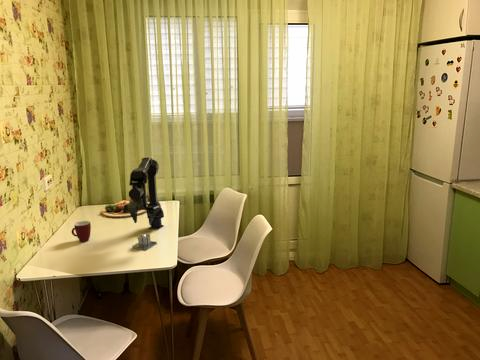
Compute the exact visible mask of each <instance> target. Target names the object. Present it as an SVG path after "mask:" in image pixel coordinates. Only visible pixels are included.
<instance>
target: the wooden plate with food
mask: <svg viewBox="0 0 480 360" xmlns="http://www.w3.org/2000/svg"><path fill="white" fill-rule="evenodd" d="M130 202H133V200H132V199H131V198H129V200H125V199H124V200H123V199H122V200H121V201H119V202H117V203H114V204H113V203H110V204H107V205H105V206H104V208H103V209H102V210H101V212H100V213H101V216H103V217H105V218H108V219H109V218H110V219H129V218H132V216H131V214H130V213H128V212H126V210H124V205H125V204H128V203H130ZM144 214H147V210H138V212H137V217H138V216H141V215H144Z"/></svg>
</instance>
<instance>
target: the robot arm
mask: <svg viewBox="0 0 480 360" xmlns="http://www.w3.org/2000/svg"><path fill="white" fill-rule="evenodd" d="M159 169H160V165H159V162H158V161H157V160H155V159H153V158H152V157H143V158H141V160H140V163H139V165H138V167H137V168H134V169H132V170H131V173H130V175H129V186H131V189H130V190H129V192H128V197H129V199H132V200H133V202H130V201H129V202H130V203H128V204H125V205H124V210H126V212H128V213H130V214H131V216H132V217H131V218H132V220H133V222H134V224H136V223H137V222H138V216H137V212H138V210H147V212H146V215H147V219H148V224H149V226H148V228H149V229H153V230H159V229H162V228H163V227H164V226H165V225H164V224H162V223H163V222H162V219H163V218H165V213H164V210H163V208H162V204H161V203H160V201H159V200H158V190H157V189H158V188H157V179H156V178H157V175H158V172H159ZM147 187H148V195H147ZM148 199H149V202H148Z"/></svg>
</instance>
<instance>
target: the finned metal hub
mask: <svg viewBox="0 0 480 360" xmlns="http://www.w3.org/2000/svg"><path fill="white" fill-rule="evenodd" d="M142 234H143V235H142V237H146V234H147V233H142ZM150 241H151V244H150V245H147V246H139V244H138V242H136V243H134V244H132V246H131V248H132V249H137V250H138V249H139V250H144V251H148V250H149V249H151V248H154V246H156V245H158V242H157V241H153V240H150Z"/></svg>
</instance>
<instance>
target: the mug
mask: <svg viewBox="0 0 480 360" xmlns="http://www.w3.org/2000/svg"><path fill="white" fill-rule="evenodd" d="M91 230H92V226H91V221H88V220H82V221H81V220H80V221H78V222H75V223H74V227H73V228H72V229H71V234H72V236H74V237H76V238H77V239H78V240H79V242H80V243H85V242H88V241H89V239H90V237H91Z"/></svg>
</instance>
